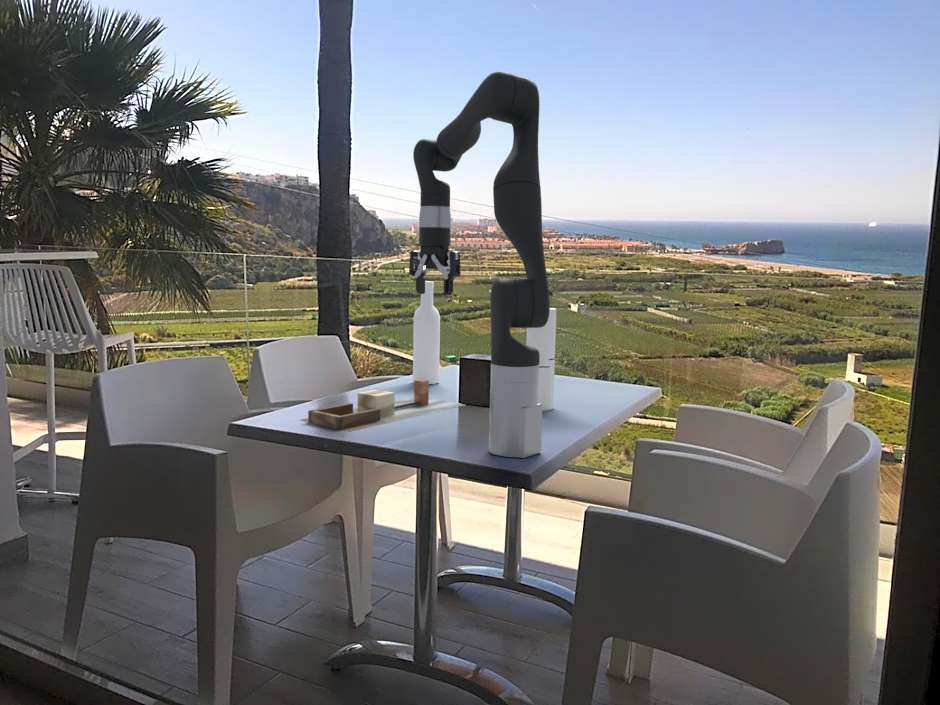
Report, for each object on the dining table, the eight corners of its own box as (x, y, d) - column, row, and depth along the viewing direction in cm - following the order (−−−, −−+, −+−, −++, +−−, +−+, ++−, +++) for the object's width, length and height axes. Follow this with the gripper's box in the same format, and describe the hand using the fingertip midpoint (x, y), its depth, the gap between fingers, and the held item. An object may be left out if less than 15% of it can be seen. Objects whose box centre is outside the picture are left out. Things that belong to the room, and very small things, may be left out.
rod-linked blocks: (433, 405, 184) (434, 381, 183) (376, 418, 168) (376, 391, 167) (415, 402, 187) (415, 378, 186) (357, 414, 171) (357, 388, 171)
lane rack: (466, 407, 185) (466, 394, 185) (349, 435, 155) (349, 419, 154) (418, 399, 195) (418, 387, 195) (299, 423, 165) (299, 408, 164)
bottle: (416, 380, 226) (417, 280, 222) (441, 381, 224) (443, 281, 221) (409, 384, 218) (410, 281, 214) (436, 385, 217) (437, 282, 213)
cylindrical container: (558, 408, 187) (562, 308, 184) (540, 411, 182) (543, 309, 179) (537, 403, 192) (540, 307, 189) (518, 407, 187) (521, 307, 184)
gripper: (468, 226, 176) (466, 295, 178) (423, 227, 184) (422, 292, 187) (447, 225, 170) (446, 296, 172) (402, 225, 179) (401, 293, 181)
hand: (434, 294), depth 179 cm, fingers open, 8 cm apart
